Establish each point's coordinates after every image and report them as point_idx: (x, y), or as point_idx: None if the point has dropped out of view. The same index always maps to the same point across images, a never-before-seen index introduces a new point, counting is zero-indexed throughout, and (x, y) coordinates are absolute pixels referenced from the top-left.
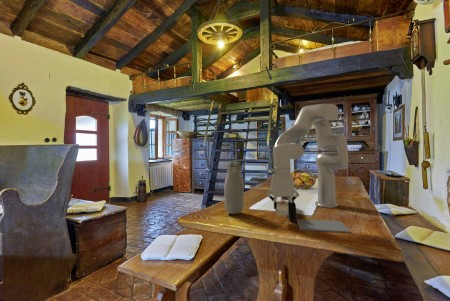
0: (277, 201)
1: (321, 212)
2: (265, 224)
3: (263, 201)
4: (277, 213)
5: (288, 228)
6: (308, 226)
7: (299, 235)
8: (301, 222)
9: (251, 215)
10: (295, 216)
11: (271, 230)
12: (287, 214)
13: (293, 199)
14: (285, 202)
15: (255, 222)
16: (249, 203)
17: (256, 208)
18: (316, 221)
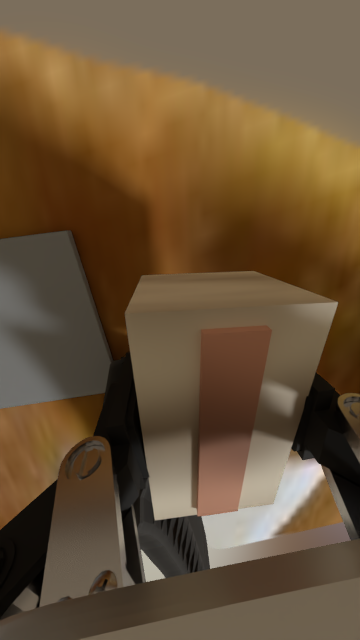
0: (286, 452)
1: (34, 498)
2: (285, 281)
3: (265, 529)
4: (251, 272)
5: (147, 246)
6: (25, 295)
7: (47, 98)
8: (83, 351)
9: (338, 391)
10: (113, 380)
11: (257, 168)
12: (149, 275)
13: (32, 522)
14: (183, 440)
15: (337, 299)
16: (320, 502)
17: (301, 468)
18: (8, 388)
